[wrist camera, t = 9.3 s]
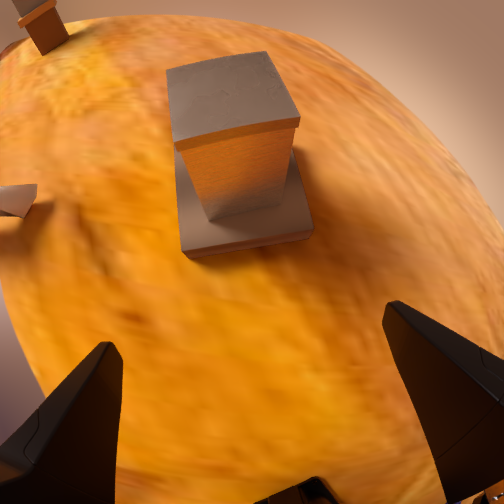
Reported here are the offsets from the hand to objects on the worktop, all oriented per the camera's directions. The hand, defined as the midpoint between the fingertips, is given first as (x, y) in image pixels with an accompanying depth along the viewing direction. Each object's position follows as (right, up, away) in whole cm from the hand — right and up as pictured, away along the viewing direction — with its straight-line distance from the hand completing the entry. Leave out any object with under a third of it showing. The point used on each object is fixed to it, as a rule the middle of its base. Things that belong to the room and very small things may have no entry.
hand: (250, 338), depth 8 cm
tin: (-1, +8, +14) cm, 16 cm away
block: (-1, +7, +17) cm, 18 cm away
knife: (-42, +47, +27) cm, 69 cm away
